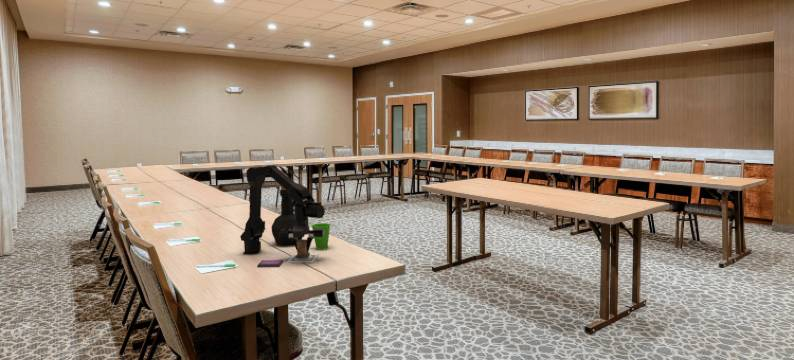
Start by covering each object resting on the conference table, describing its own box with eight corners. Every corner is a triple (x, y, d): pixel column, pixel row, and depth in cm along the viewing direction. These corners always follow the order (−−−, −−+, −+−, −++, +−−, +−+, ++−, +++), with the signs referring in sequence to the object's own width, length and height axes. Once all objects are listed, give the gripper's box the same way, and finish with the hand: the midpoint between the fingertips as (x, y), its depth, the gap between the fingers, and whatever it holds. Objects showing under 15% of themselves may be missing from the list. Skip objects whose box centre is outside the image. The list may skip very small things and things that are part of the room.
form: (286, 262, 206) (286, 261, 206) (292, 255, 217) (292, 254, 217) (314, 262, 205) (314, 261, 205) (319, 255, 216) (319, 254, 216)
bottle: (310, 244, 236) (307, 183, 233) (277, 249, 228) (273, 185, 225) (299, 237, 250) (297, 180, 246) (267, 242, 242) (264, 182, 238)
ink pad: (257, 267, 200) (257, 264, 200) (262, 262, 207) (262, 259, 207) (279, 266, 200) (279, 264, 200) (283, 262, 207) (283, 259, 207)
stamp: (296, 258, 208) (295, 242, 208) (298, 254, 213) (297, 239, 212) (307, 257, 208) (307, 241, 207) (309, 254, 213) (309, 239, 212)
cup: (327, 250, 223) (326, 227, 222) (309, 250, 225) (308, 226, 224) (334, 245, 232) (333, 223, 231) (316, 245, 234) (315, 222, 233)
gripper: (274, 220, 201) (276, 257, 203) (319, 220, 201) (321, 256, 203) (281, 215, 212) (283, 250, 214) (324, 214, 212) (325, 249, 214)
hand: (302, 252), depth 211 cm, fingers closed on stamp, 4 cm apart
